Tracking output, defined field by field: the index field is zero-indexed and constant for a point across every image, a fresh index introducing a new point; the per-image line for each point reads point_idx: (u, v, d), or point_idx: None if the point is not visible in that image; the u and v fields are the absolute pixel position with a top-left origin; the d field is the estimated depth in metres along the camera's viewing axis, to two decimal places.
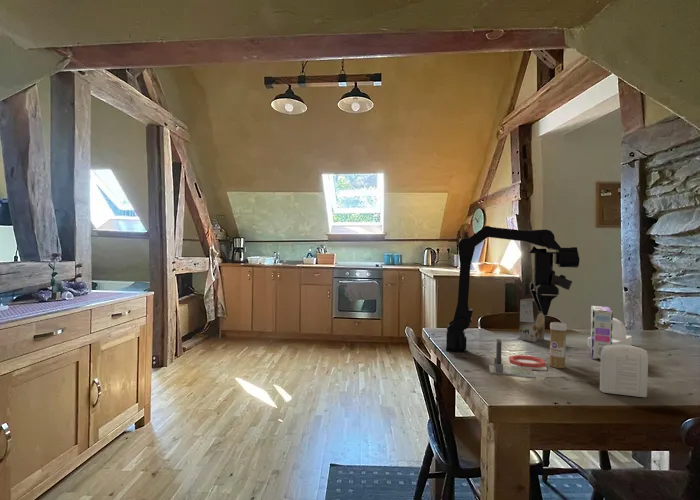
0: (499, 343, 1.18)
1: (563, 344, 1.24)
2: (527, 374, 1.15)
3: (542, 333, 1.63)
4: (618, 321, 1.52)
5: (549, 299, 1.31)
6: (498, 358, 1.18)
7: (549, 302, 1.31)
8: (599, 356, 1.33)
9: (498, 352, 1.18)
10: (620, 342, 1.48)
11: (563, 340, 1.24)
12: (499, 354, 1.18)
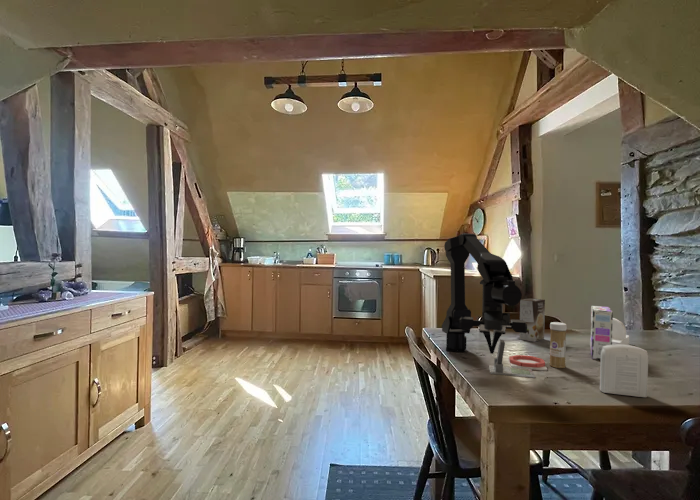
0: (502, 343, 1.18)
1: (563, 344, 1.24)
2: (527, 374, 1.15)
3: (542, 333, 1.63)
4: (618, 321, 1.52)
5: None
6: (499, 358, 1.18)
7: None
8: (599, 356, 1.33)
9: (500, 352, 1.18)
10: (622, 342, 1.48)
11: (563, 340, 1.24)
12: (501, 354, 1.18)
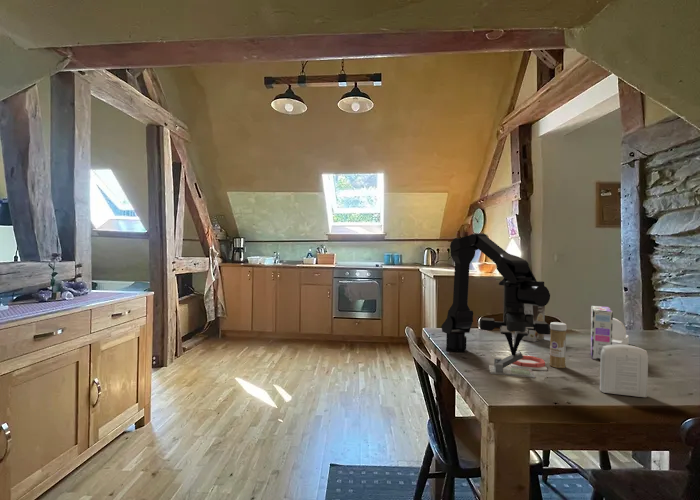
0: (521, 356, 1.16)
1: (563, 344, 1.24)
2: (527, 374, 1.15)
3: None
4: (618, 321, 1.52)
5: None
6: (507, 362, 1.18)
7: None
8: (599, 356, 1.33)
9: (512, 360, 1.17)
10: (623, 342, 1.48)
11: (563, 340, 1.24)
12: (511, 361, 1.17)
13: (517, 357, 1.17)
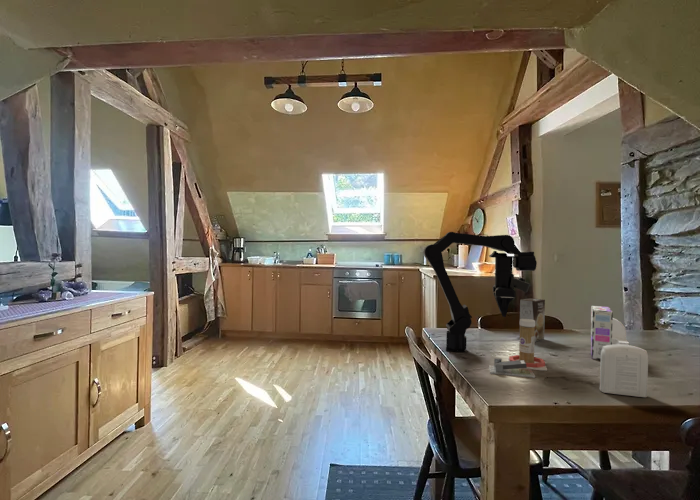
0: (525, 366, 1.16)
1: (531, 340, 1.25)
2: (527, 374, 1.15)
3: (542, 333, 1.63)
4: (618, 321, 1.53)
5: (507, 301, 1.37)
6: (508, 366, 1.17)
7: (507, 304, 1.37)
8: (599, 356, 1.33)
9: (515, 365, 1.17)
10: None
11: (531, 336, 1.26)
12: (513, 367, 1.17)
13: (520, 365, 1.17)
